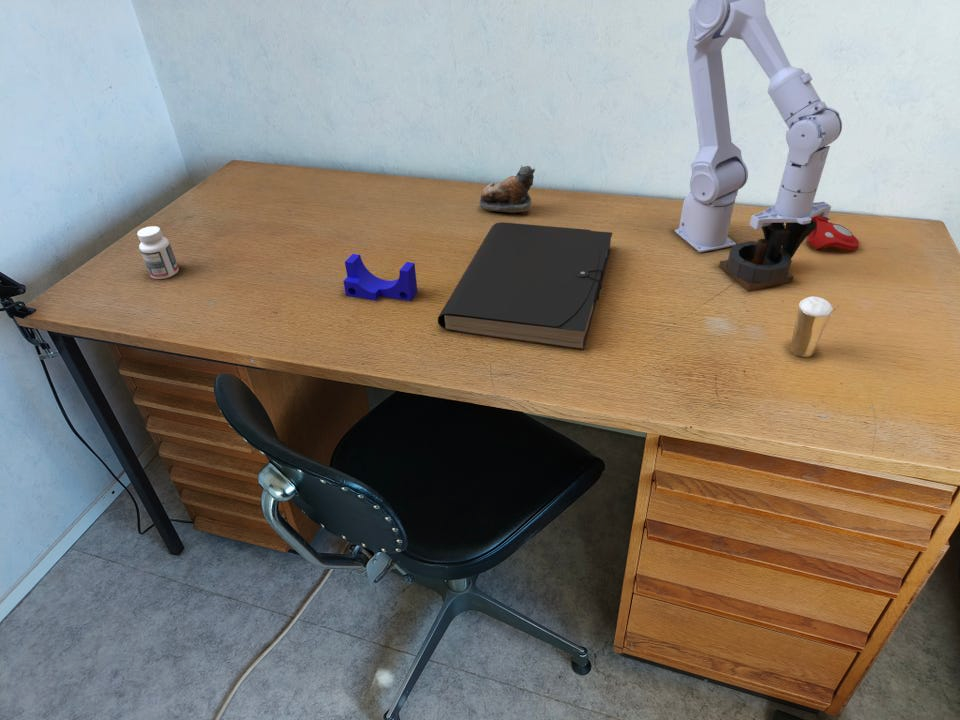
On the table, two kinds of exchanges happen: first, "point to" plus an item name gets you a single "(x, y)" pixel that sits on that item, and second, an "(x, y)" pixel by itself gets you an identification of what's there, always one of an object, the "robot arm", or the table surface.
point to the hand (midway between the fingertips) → (778, 257)
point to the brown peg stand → (757, 260)
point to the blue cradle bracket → (378, 282)
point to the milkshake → (810, 325)
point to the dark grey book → (531, 285)
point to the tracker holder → (831, 235)
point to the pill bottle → (157, 253)
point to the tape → (757, 271)
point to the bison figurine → (509, 193)
